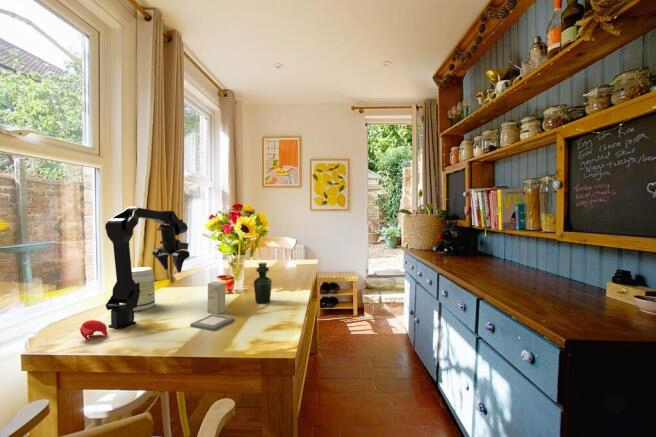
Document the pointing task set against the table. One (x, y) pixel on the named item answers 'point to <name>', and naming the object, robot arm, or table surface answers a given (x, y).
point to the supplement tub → (144, 287)
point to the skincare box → (216, 297)
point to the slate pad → (212, 322)
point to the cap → (92, 328)
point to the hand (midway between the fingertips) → (172, 271)
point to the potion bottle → (262, 285)
